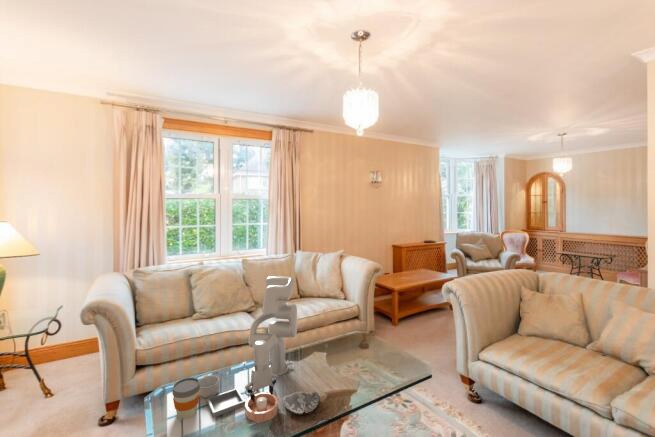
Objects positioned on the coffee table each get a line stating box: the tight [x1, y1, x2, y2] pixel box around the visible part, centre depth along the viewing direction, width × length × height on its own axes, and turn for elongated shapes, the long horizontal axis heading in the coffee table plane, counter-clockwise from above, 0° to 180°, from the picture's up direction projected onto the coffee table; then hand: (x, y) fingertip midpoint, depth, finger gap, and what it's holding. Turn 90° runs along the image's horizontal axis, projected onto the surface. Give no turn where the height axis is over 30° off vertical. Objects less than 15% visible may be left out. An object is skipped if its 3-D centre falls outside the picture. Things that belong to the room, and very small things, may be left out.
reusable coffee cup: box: [171, 377, 200, 420], centre depth 159 cm, size 13×13×15 cm
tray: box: [206, 387, 246, 418], centre depth 166 cm, size 16×13×3 cm
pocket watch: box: [244, 386, 259, 396], centre depth 177 cm, size 8×8×10 cm
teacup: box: [199, 374, 220, 399], centre depth 175 cm, size 14×11×8 cm
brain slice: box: [282, 390, 321, 415], centre depth 166 cm, size 20×17×3 cm
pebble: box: [257, 397, 267, 412], centre depth 162 cm, size 5×5×5 cm
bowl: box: [244, 391, 279, 423], centre depth 162 cm, size 16×16×4 cm
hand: (262, 396), depth 162 cm, fingers open, 9 cm apart
